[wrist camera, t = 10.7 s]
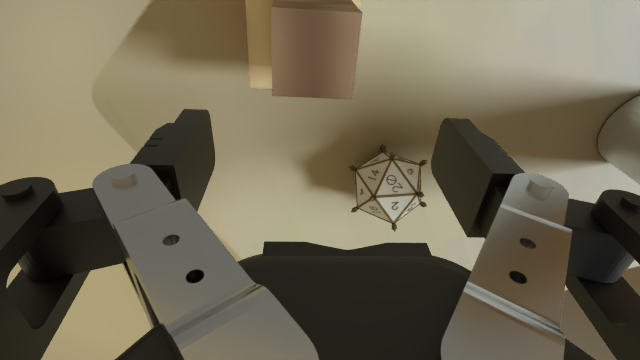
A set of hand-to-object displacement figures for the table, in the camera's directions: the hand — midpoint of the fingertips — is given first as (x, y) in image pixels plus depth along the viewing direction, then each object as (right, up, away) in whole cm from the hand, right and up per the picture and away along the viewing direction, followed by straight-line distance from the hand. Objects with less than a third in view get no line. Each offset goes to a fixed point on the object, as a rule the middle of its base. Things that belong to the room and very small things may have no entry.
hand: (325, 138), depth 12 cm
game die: (+7, 0, +29) cm, 30 cm away
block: (-1, +9, +13) cm, 16 cm away
